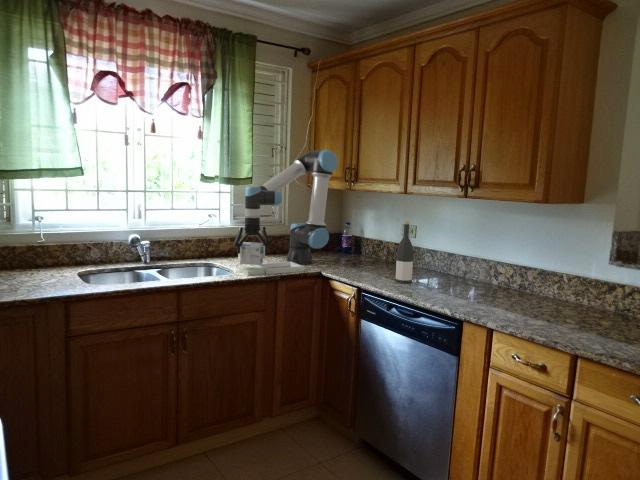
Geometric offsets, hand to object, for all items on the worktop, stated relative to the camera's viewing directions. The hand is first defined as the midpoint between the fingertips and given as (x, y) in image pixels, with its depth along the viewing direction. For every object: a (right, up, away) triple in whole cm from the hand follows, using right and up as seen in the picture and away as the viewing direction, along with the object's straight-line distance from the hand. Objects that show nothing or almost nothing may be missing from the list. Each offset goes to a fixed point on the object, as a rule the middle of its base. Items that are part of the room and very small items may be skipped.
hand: (251, 259), depth 251 cm
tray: (+13, -6, +11) cm, 18 cm away
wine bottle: (+76, -11, -10) cm, 77 cm away
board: (0, -7, +1) cm, 7 cm away
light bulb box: (0, -3, 0) cm, 3 cm away
